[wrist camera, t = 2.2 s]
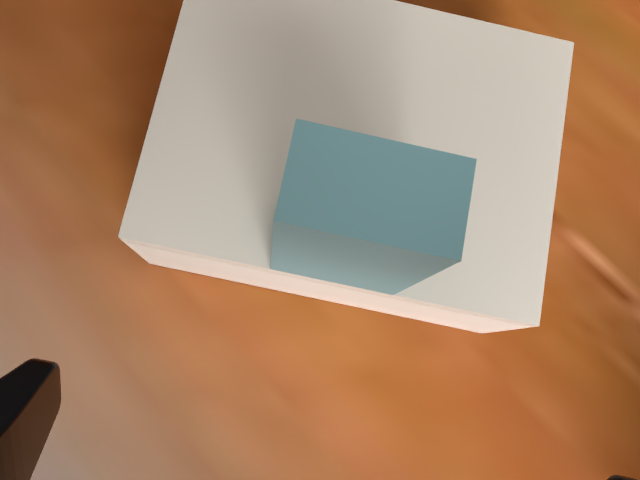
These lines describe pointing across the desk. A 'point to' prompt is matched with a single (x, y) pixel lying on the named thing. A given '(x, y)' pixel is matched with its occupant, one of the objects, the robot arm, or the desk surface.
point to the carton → (320, 290)
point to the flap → (359, 150)
